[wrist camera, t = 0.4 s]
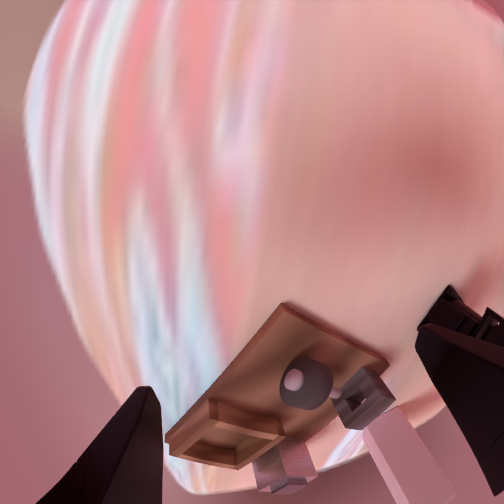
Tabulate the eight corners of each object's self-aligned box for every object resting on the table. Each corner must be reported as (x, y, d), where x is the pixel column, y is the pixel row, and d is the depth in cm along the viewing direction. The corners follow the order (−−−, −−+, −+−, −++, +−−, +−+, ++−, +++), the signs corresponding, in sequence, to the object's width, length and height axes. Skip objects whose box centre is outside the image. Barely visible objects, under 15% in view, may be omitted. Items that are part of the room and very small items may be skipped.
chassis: (385, 358, 27) (410, 390, 22) (269, 458, 31) (278, 489, 26) (280, 303, 22) (302, 346, 17) (165, 434, 26) (163, 473, 21)
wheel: (343, 363, 24) (363, 394, 20) (314, 392, 25) (328, 424, 21) (301, 344, 22) (318, 379, 18) (269, 377, 23) (281, 414, 19)
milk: (397, 405, 32) (467, 507, 12) (393, 423, 35) (452, 515, 14) (363, 423, 32) (426, 535, 12) (361, 439, 34) (415, 539, 14)
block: (304, 439, 29) (319, 481, 22) (279, 457, 30) (291, 496, 23) (274, 434, 27) (287, 481, 21) (250, 452, 28) (259, 496, 22)
